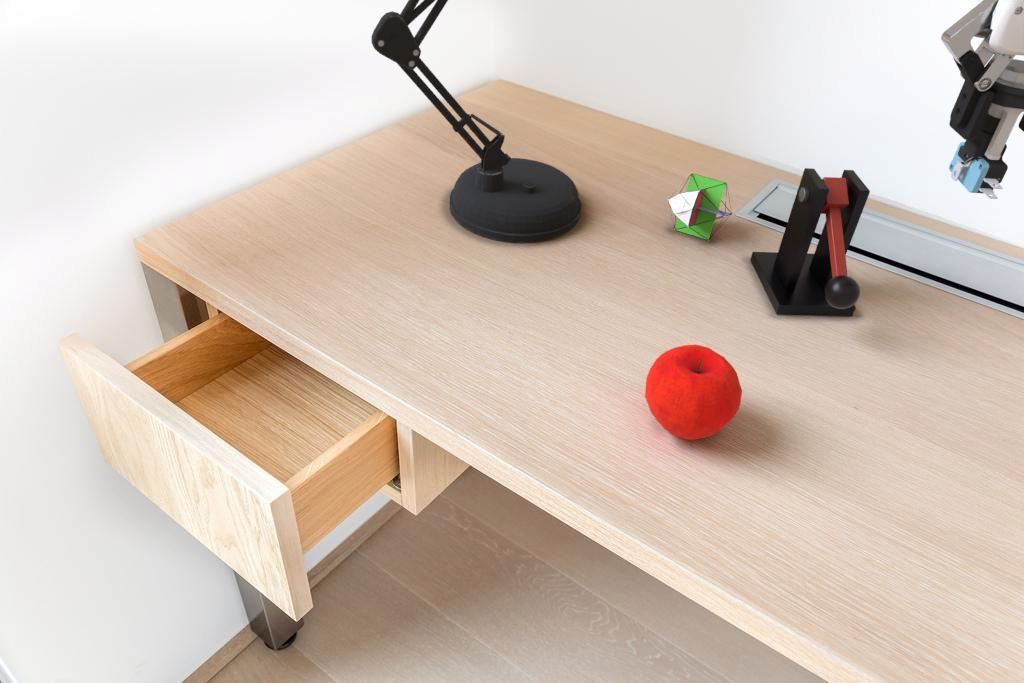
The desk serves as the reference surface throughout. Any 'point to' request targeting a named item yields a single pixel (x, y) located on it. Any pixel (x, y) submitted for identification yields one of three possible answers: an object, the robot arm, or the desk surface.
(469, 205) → the desk lamp
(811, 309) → the bracket
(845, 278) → the lever
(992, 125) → the push button
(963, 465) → the desk surface
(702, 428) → the apple
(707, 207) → the geometric puzzle
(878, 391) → the desk surface
